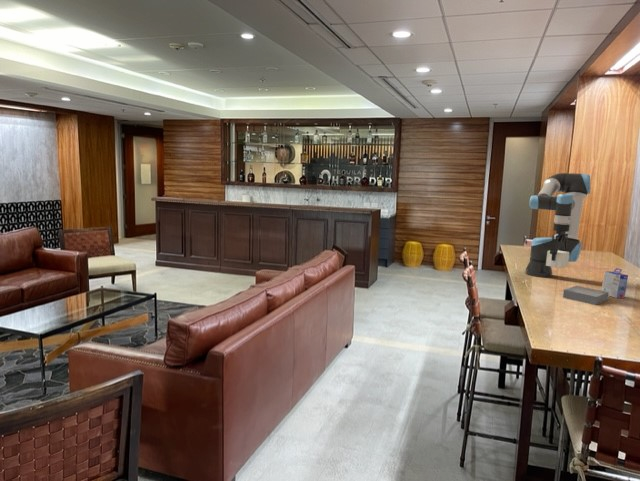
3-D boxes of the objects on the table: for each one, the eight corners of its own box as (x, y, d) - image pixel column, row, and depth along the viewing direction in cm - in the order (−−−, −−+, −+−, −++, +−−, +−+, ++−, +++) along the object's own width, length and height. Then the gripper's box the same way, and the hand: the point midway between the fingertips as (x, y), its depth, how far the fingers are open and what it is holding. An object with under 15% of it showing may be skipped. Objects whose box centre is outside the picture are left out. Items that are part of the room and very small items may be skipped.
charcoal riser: (575, 293, 239) (576, 285, 239) (607, 299, 228) (608, 292, 228) (562, 297, 229) (563, 289, 229) (595, 304, 218) (596, 296, 217)
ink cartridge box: (625, 298, 233) (629, 270, 231) (617, 298, 232) (621, 270, 229) (608, 293, 242) (612, 266, 240) (600, 293, 241) (604, 266, 239)
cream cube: (552, 263, 250) (554, 249, 249) (567, 266, 244) (569, 252, 243) (545, 265, 245) (547, 251, 244) (561, 268, 239) (563, 253, 238)
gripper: (560, 225, 231) (555, 269, 235) (577, 223, 244) (572, 264, 248) (545, 223, 237) (540, 266, 241) (562, 221, 250) (557, 262, 254)
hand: (556, 265), depth 244 cm, fingers closed on cream cube, 8 cm apart
